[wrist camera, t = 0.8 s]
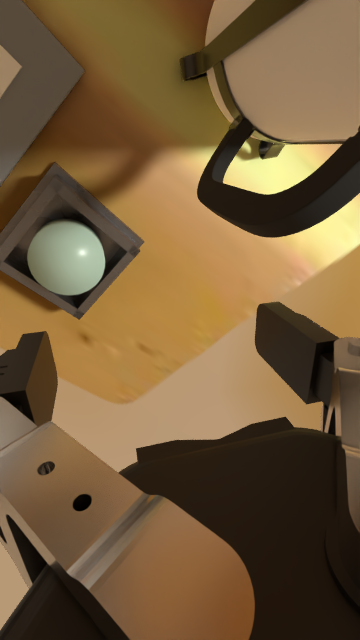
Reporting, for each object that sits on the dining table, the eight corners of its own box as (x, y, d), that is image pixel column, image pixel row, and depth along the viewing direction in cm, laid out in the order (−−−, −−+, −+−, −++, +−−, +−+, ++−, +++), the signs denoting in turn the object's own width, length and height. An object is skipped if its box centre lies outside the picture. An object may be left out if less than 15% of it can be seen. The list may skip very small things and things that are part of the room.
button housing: (-14, 251, 28) (-24, 263, 26) (55, 162, 26) (52, 164, 24) (80, 312, 33) (80, 327, 31) (143, 240, 31) (149, 250, 29)
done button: (16, 257, 27) (11, 266, 25) (59, 202, 26) (58, 207, 24) (76, 297, 30) (75, 307, 28) (117, 250, 29) (119, 257, 27)
